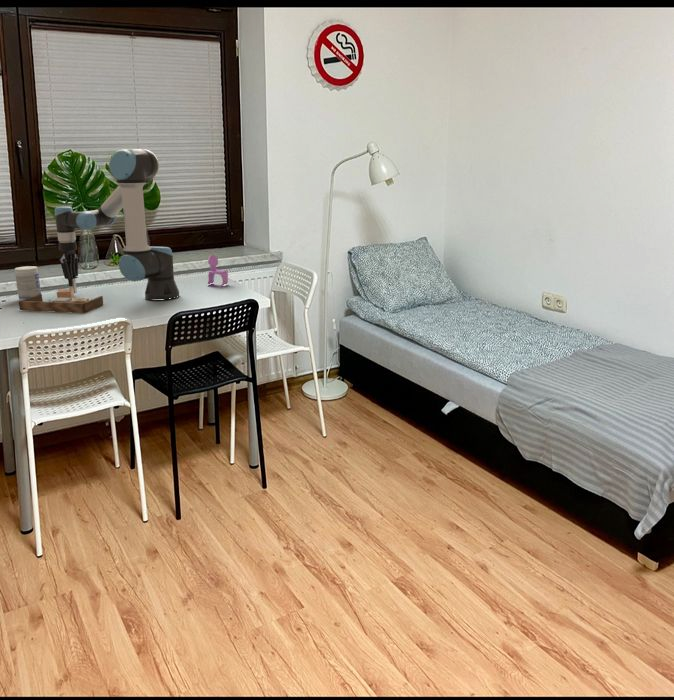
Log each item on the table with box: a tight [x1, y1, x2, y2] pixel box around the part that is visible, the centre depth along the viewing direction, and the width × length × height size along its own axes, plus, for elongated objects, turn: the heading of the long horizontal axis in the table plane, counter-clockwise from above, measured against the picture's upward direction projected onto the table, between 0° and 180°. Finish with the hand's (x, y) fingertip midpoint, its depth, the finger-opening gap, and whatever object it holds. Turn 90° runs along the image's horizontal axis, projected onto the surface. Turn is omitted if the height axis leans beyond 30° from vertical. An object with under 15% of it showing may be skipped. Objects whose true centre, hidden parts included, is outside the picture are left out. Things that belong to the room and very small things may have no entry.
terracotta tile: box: [56, 288, 75, 299], centre depth 313 cm, size 6×6×4 cm
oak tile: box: [71, 297, 90, 303], centre depth 294 cm, size 6×6×4 cm
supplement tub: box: [14, 265, 42, 301], centre depth 309 cm, size 10×10×15 cm
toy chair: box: [207, 254, 229, 286], centre depth 337 cm, size 8×9×15 cm
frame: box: [18, 293, 104, 314], centre depth 295 cm, size 30×15×4 cm, turn 80°
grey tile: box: [51, 297, 73, 303], centre depth 296 cm, size 6×6×4 cm
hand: (73, 292), depth 319 cm, fingers closed
